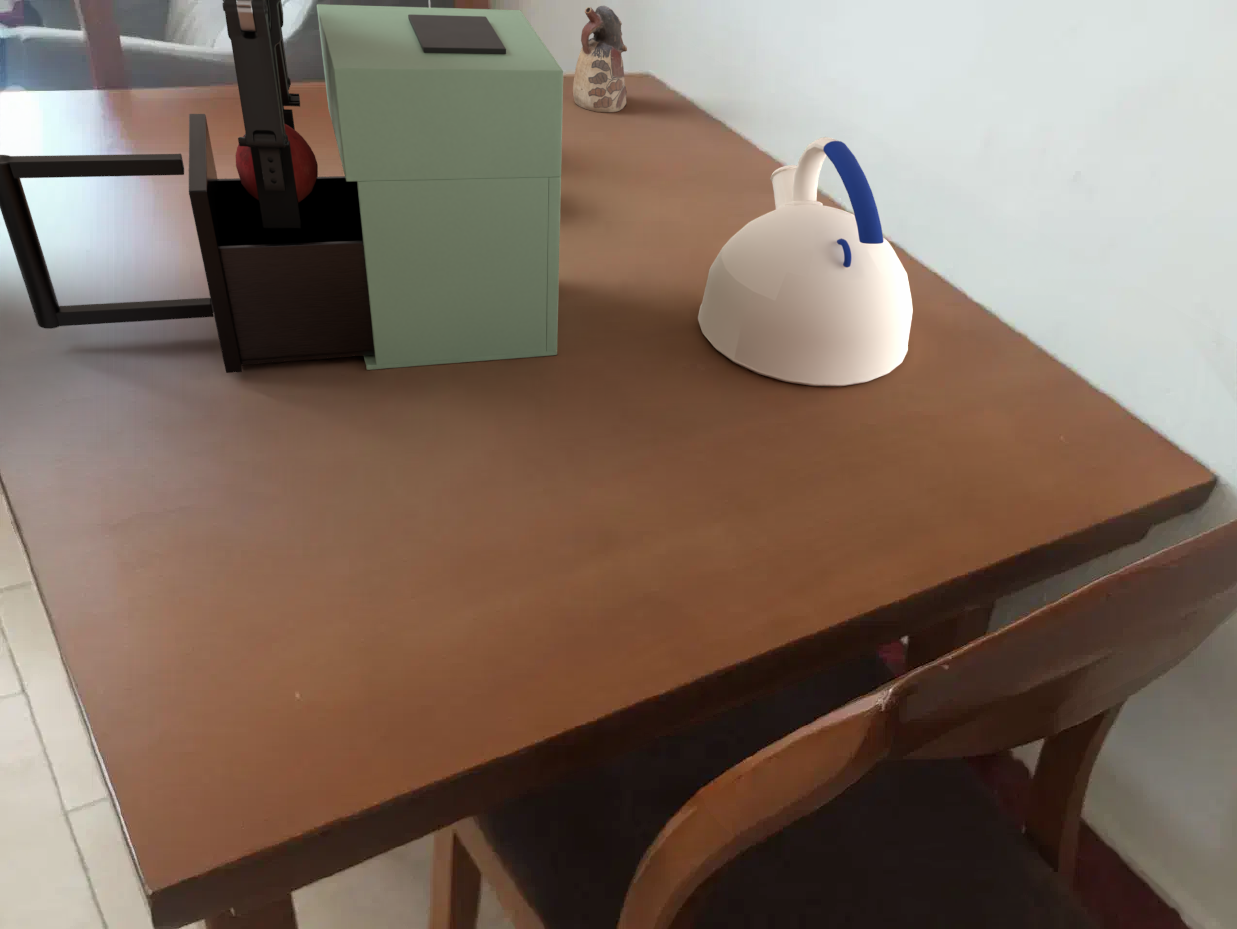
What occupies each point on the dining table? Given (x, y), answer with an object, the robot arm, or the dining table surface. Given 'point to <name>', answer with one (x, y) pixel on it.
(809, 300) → the kettle
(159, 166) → the dark brown drawer
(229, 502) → the dining table surface
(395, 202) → the sage green appliance box
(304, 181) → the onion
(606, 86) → the figurine
